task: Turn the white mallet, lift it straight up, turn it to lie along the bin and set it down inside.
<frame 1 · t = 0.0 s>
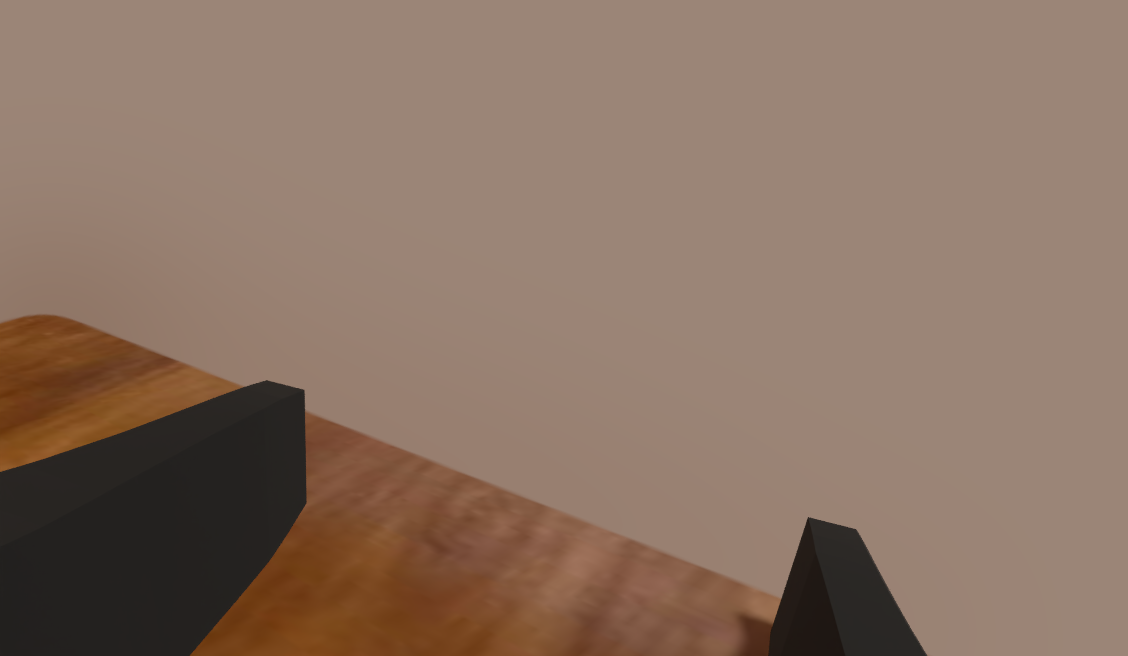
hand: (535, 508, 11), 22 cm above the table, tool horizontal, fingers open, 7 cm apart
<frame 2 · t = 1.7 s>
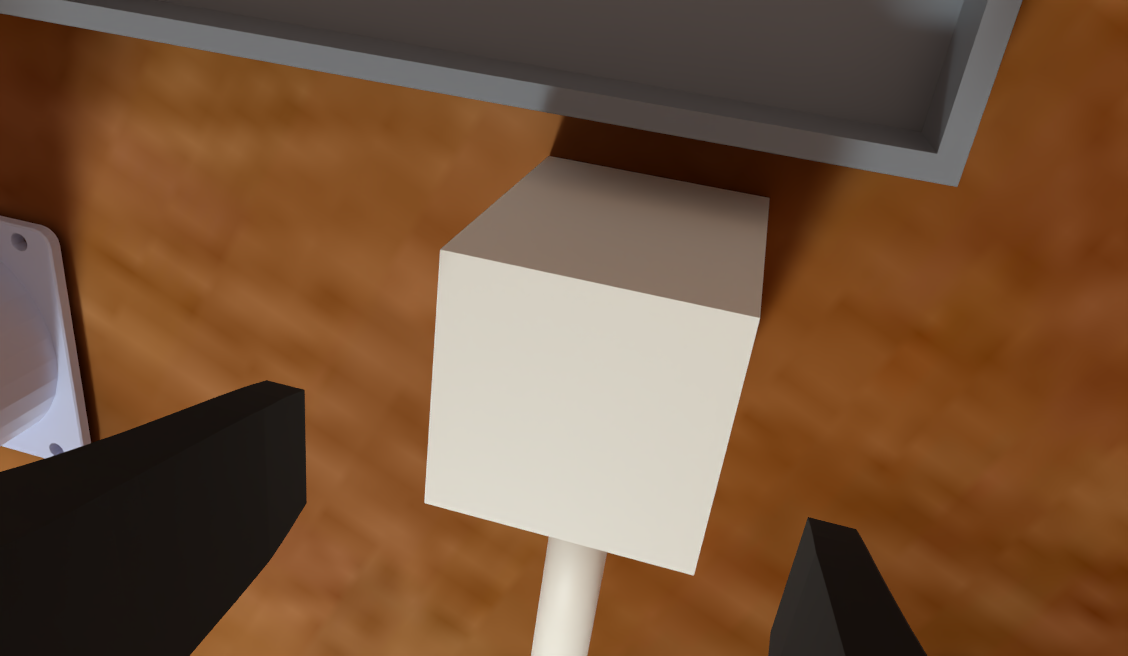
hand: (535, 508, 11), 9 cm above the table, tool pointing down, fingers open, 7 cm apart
white mallet: (638, 279, 19), on the table
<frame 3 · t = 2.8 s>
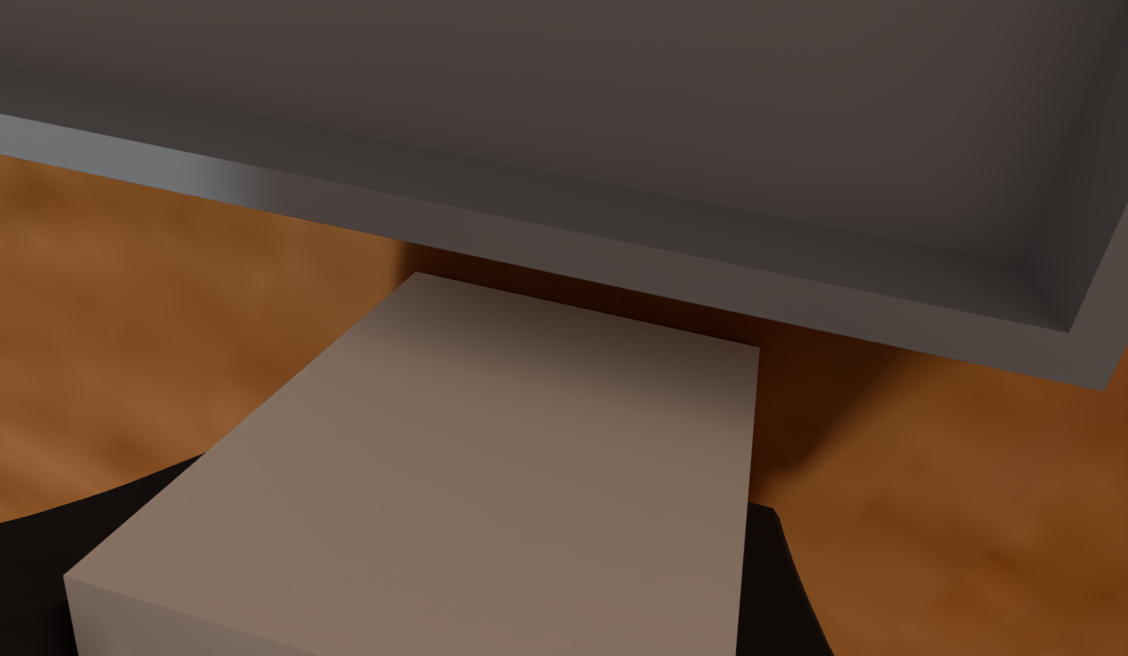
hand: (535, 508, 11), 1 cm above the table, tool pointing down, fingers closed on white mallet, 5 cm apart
white mallet: (560, 453, 13), on the table, touching gripper
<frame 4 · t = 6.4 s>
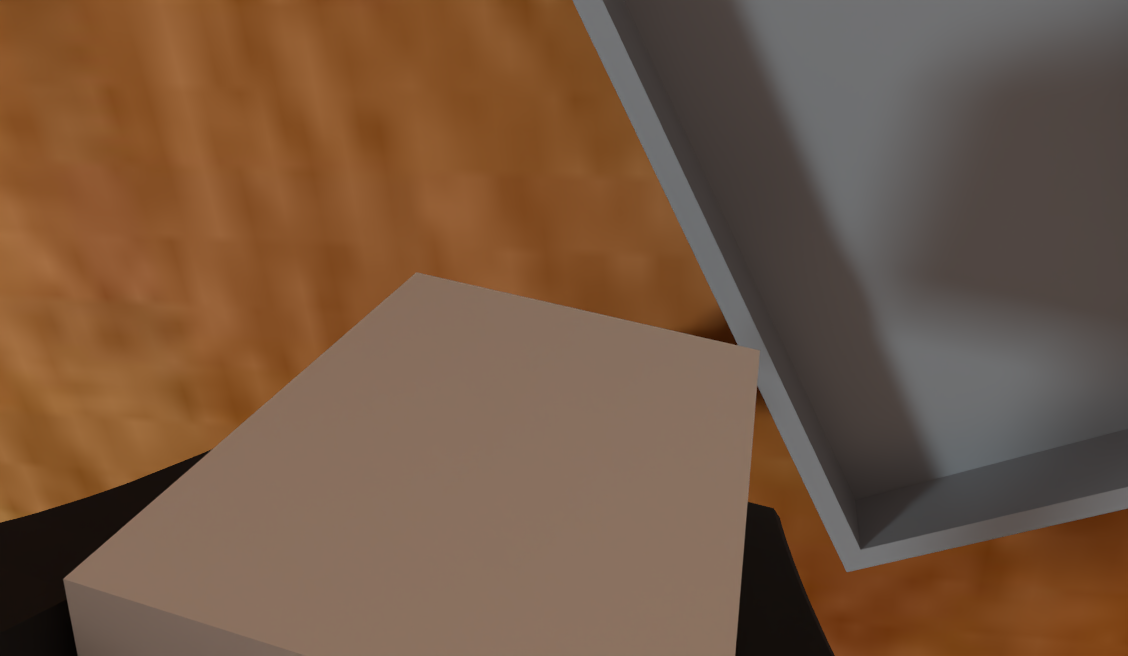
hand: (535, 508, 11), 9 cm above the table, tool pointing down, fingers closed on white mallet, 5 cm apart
white mallet: (559, 455, 13), point 8 cm above the table, touching gripper
bin: (902, 43, 16), on the table
when the fingers open (3 cm above the table, at t = 8.9 s): white mallet drops 1 cm, resting on bin.
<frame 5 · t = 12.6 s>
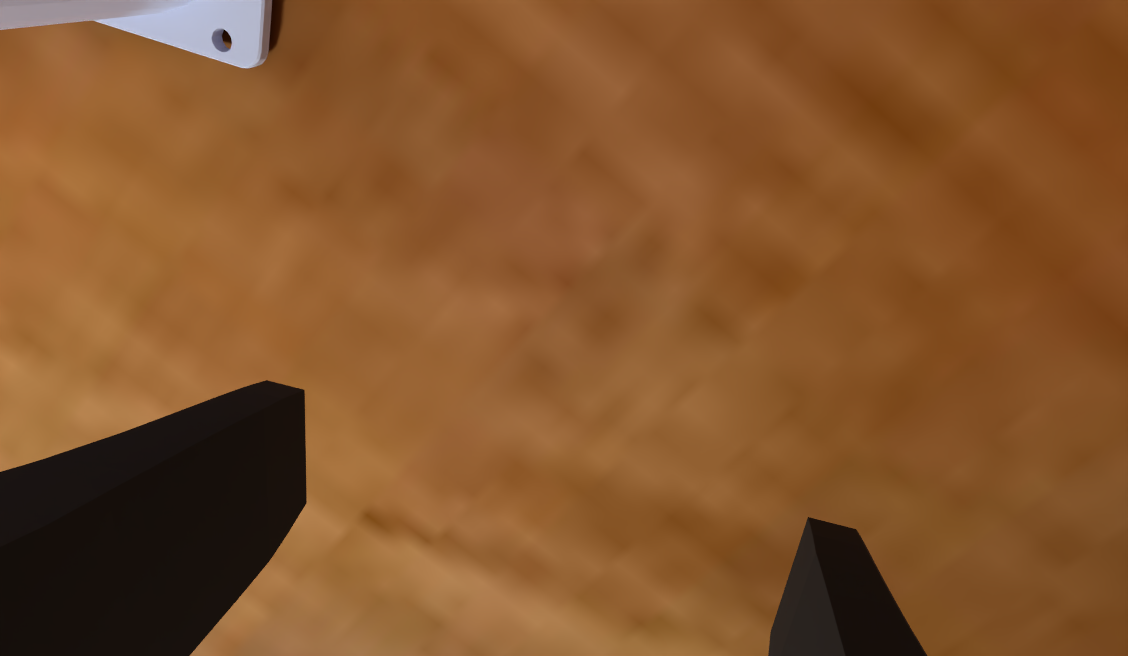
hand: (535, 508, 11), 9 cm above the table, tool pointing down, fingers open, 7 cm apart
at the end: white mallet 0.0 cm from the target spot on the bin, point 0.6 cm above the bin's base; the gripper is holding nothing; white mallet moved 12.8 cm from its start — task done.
